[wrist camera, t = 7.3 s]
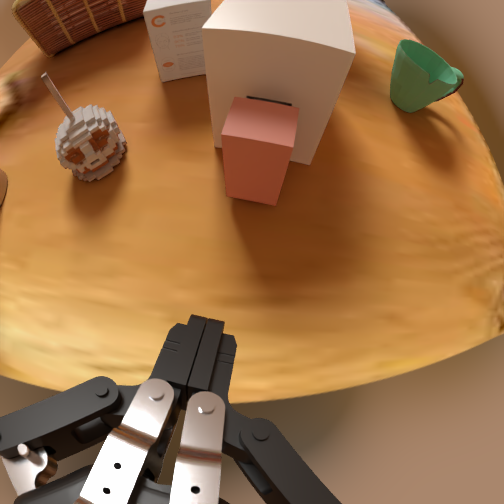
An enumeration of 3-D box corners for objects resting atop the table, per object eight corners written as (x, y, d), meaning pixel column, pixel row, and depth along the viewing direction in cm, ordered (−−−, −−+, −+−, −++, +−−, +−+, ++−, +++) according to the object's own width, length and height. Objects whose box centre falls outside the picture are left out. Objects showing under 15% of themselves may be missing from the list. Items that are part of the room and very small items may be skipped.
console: (214, 146, 30) (201, 28, 15) (242, 70, 34) (245, -24, 18) (309, 165, 30) (355, 53, 14) (317, 84, 34) (345, -6, 18)
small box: (212, 52, 35) (208, -15, 22) (216, 73, 34) (211, -1, 21) (161, 61, 34) (147, -4, 22) (160, 83, 33) (142, 11, 20)
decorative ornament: (81, 194, 28) (9, 122, 14) (70, 153, 30) (13, 82, 15) (135, 160, 29) (84, 67, 15) (118, 122, 31) (76, 39, 16)
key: (226, 196, 27) (220, 134, 18) (253, 100, 31) (258, 37, 21) (275, 205, 27) (293, 147, 18) (293, 108, 31) (307, 45, 21)
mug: (395, 124, 33) (426, 79, 23) (365, 79, 35) (386, 34, 25) (453, 126, 34) (483, 93, 25) (425, 86, 36) (448, 51, 27)
